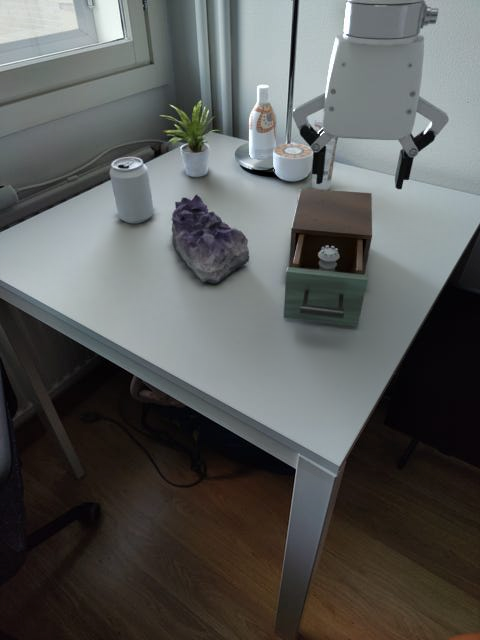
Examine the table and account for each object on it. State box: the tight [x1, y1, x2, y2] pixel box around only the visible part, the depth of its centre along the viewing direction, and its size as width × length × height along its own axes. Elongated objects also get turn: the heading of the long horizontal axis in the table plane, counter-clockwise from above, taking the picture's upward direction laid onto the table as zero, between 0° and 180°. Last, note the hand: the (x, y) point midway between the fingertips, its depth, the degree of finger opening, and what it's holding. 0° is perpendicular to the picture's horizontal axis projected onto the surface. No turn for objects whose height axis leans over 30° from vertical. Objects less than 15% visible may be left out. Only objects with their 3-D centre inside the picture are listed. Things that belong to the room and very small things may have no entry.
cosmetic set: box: [248, 84, 339, 190], centre depth 106 cm, size 25×9×19 cm, turn 46°
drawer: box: [283, 233, 368, 327], centre depth 71 cm, size 18×11×9 cm, turn 168°
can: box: [108, 156, 155, 224], centre depth 95 cm, size 8×8×12 cm
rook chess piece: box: [318, 246, 340, 272], centre depth 72 cm, size 4×4×8 cm
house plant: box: [160, 100, 220, 178], centre depth 111 cm, size 14×14×16 cm
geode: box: [171, 194, 250, 285], centre depth 84 cm, size 20×12×10 cm, turn 33°
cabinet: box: [288, 187, 373, 275], centre depth 81 cm, size 15×13×11 cm
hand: (358, 182), depth 58 cm, fingers open, 9 cm apart
